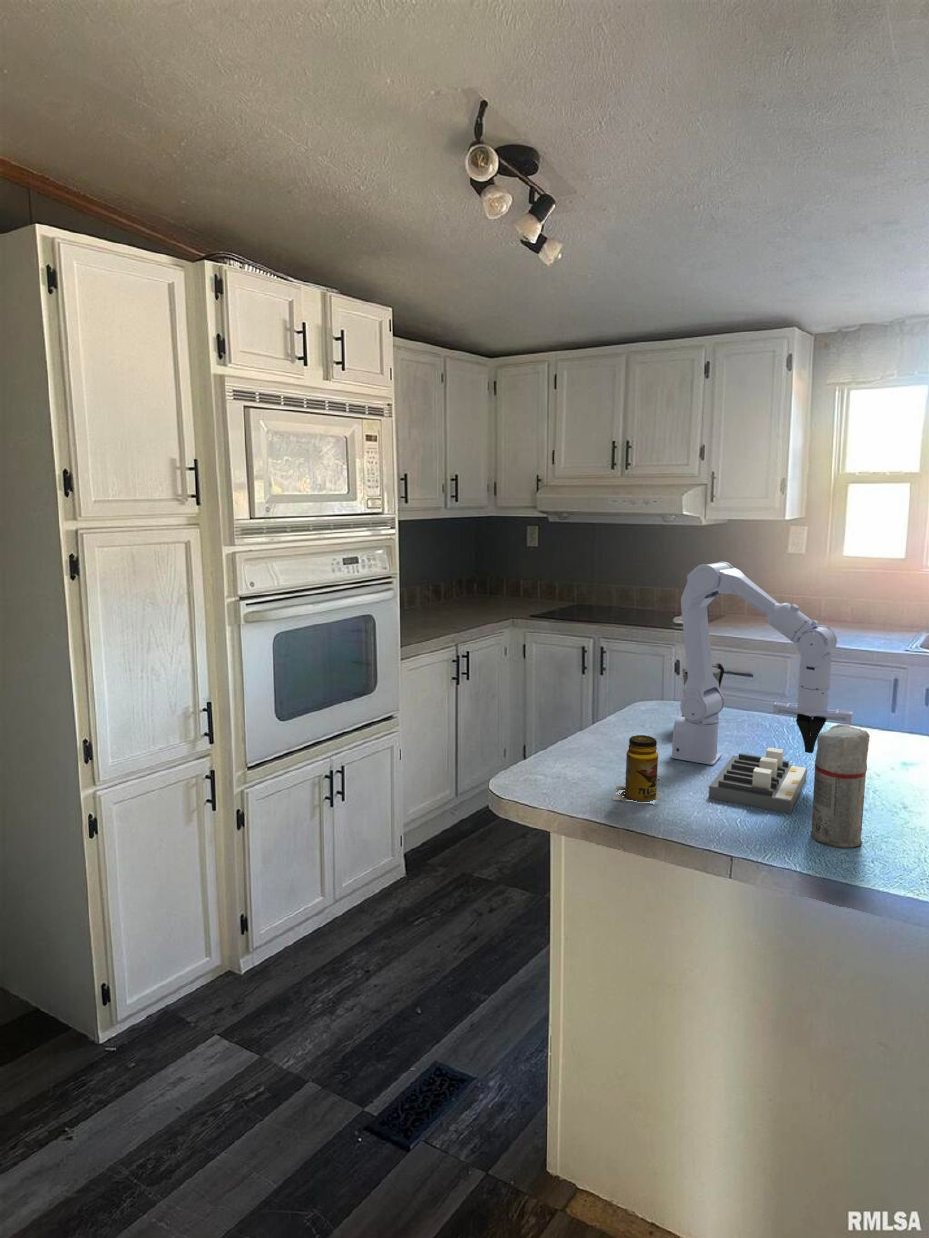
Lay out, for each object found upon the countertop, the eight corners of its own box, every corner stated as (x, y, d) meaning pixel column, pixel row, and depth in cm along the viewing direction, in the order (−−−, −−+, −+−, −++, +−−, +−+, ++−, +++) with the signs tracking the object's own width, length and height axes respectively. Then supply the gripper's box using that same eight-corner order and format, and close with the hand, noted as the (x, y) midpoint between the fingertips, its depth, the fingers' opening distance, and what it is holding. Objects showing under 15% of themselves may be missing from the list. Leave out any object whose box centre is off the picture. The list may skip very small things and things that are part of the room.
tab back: (765, 766, 163) (766, 750, 163) (767, 763, 165) (768, 747, 165) (780, 769, 162) (781, 752, 161) (782, 766, 164) (783, 749, 163)
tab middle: (758, 777, 158) (759, 760, 157) (761, 773, 160) (762, 756, 159) (774, 780, 156) (775, 762, 155) (776, 776, 158) (777, 759, 157)
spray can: (859, 854, 130) (869, 738, 127) (806, 842, 134) (814, 730, 131) (864, 835, 137) (874, 725, 134) (813, 825, 141) (822, 718, 138)
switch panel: (708, 797, 154) (709, 781, 153) (732, 765, 172) (733, 750, 171) (790, 813, 146) (791, 796, 146) (806, 778, 164) (807, 763, 164)
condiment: (656, 805, 150) (659, 745, 148) (612, 800, 153) (614, 741, 151) (659, 792, 157) (661, 734, 155) (616, 787, 159) (618, 730, 157)
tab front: (752, 788, 152) (753, 770, 151) (754, 784, 154) (755, 767, 153) (768, 791, 150) (769, 773, 149) (770, 787, 152) (771, 769, 151)
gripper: (772, 686, 158) (768, 751, 160) (851, 695, 150) (846, 763, 153) (778, 679, 164) (774, 741, 166) (855, 687, 156) (850, 753, 159)
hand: (809, 751), depth 160 cm, fingers closed
